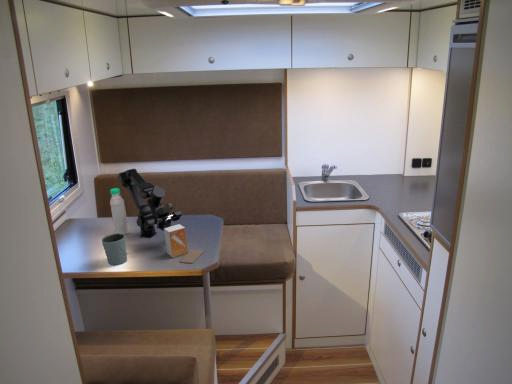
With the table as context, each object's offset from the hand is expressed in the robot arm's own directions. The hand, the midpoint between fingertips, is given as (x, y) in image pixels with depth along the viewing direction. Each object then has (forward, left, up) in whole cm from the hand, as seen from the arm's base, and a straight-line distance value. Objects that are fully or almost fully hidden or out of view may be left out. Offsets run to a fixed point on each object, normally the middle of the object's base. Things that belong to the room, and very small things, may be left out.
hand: (170, 234), depth 206 cm
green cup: (-20, -16, -8) cm, 27 cm away
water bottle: (-38, +14, -8) cm, 41 cm away
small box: (+4, -3, -8) cm, 10 cm away
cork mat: (+13, -5, -8) cm, 16 cm away
